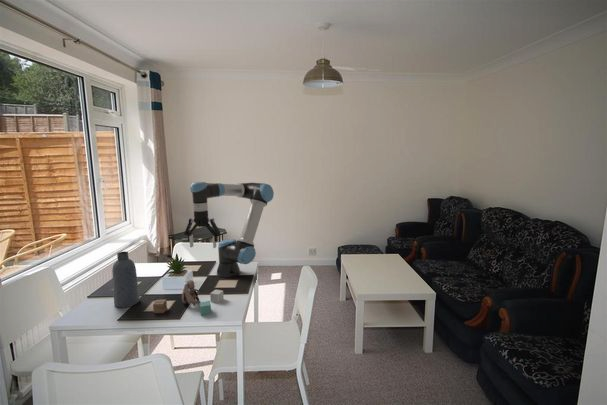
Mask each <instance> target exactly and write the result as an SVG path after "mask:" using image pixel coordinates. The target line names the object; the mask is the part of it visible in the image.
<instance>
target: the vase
mask: <svg viewBox="0 0 607 405" xmlns="http://www.w3.org/2000/svg"><path fill="white" fill-rule="evenodd" d="M116 257H117V260H116V261H115V262H114V263H113V265H112V273H111V274H112V286H113V287H112V288H113V289H112V290H113V304H114V306H115V307H117V308H122V309H123V308H128V307H132V306H134V305H136V304H138V303H139V302H140V298H141V297H140V291H139V285H138V284H139V283H138V282H139V281H138V275H137V269H136V264H135V262H134V261H133V260H132V259H131V258H129V252H128V251H120V252H117V256H116Z"/></svg>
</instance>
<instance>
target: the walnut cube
mask: <svg viewBox="0 0 607 405" xmlns="http://www.w3.org/2000/svg"><path fill="white" fill-rule="evenodd" d="M167 303H168V302H167V299H155V301H154V303H153V304H152V308H153V314H165V312H166V310H167V308H168V304H167Z"/></svg>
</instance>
